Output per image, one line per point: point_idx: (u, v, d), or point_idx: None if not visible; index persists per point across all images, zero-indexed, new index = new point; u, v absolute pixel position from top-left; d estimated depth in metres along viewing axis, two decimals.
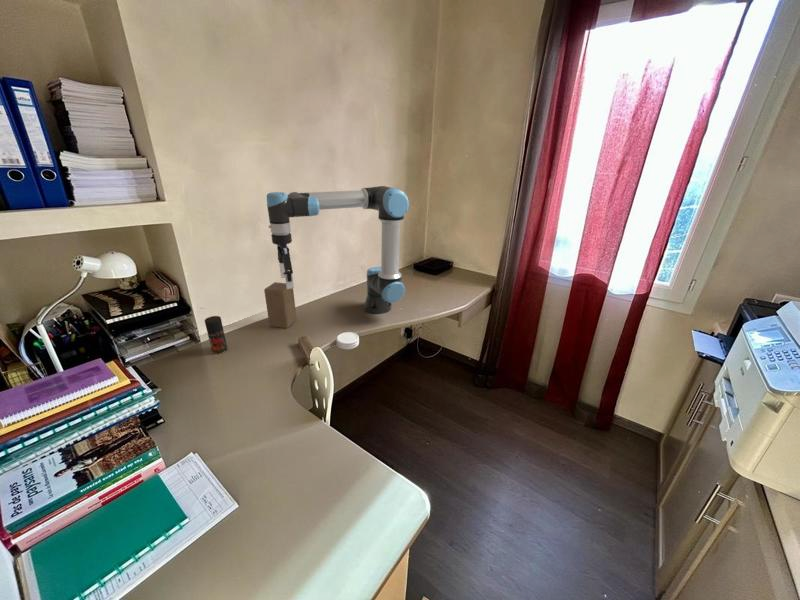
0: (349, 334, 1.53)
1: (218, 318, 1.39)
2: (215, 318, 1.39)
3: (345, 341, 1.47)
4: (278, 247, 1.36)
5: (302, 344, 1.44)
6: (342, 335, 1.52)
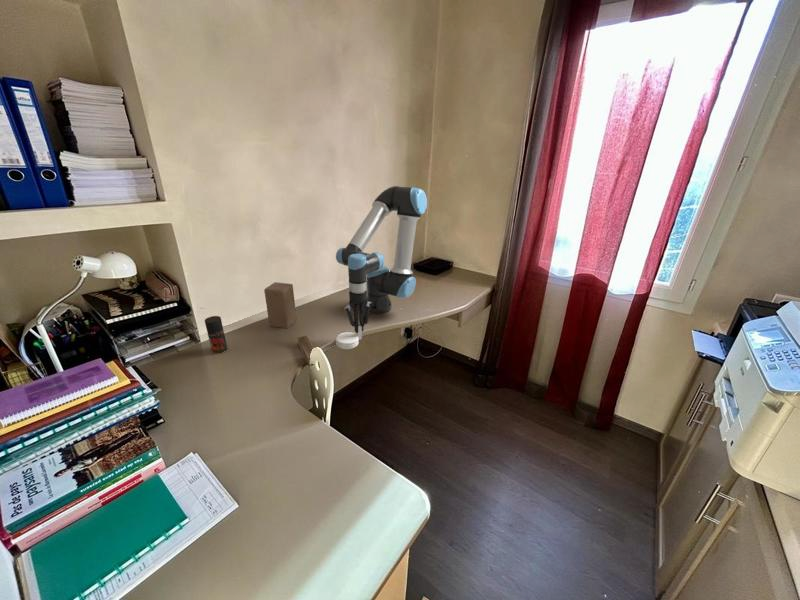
0: (349, 334, 1.53)
1: (218, 318, 1.39)
2: (215, 318, 1.39)
3: (344, 341, 1.47)
4: None
5: (302, 344, 1.44)
6: (342, 335, 1.52)
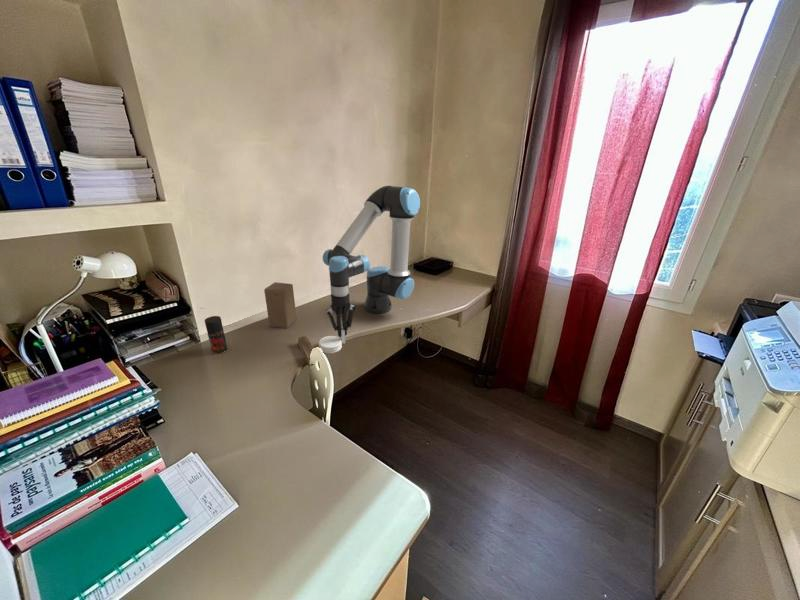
0: (332, 338, 1.49)
1: (218, 318, 1.39)
2: (215, 318, 1.39)
3: (327, 345, 1.44)
4: None
5: (302, 344, 1.44)
6: (325, 339, 1.49)
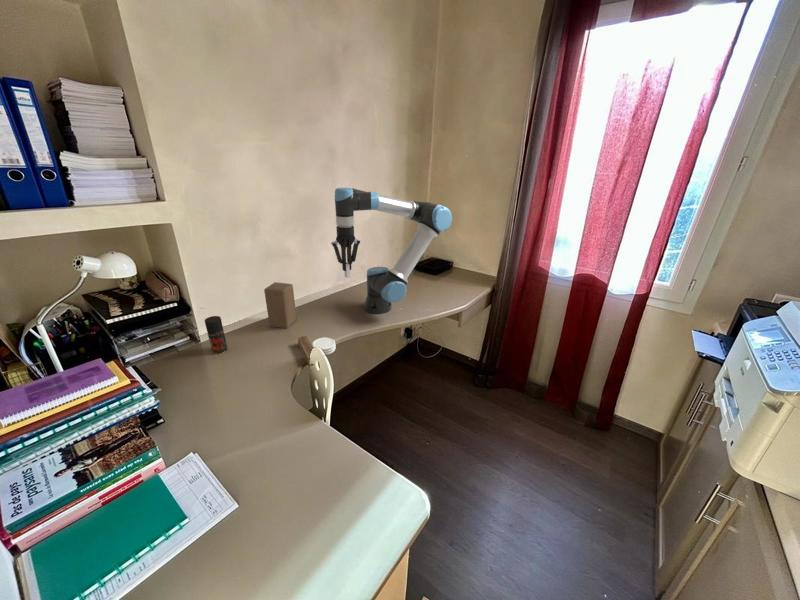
0: (326, 339, 1.48)
1: (218, 318, 1.39)
2: (215, 318, 1.39)
3: (320, 347, 1.43)
4: None
5: (302, 344, 1.44)
6: (318, 340, 1.47)
